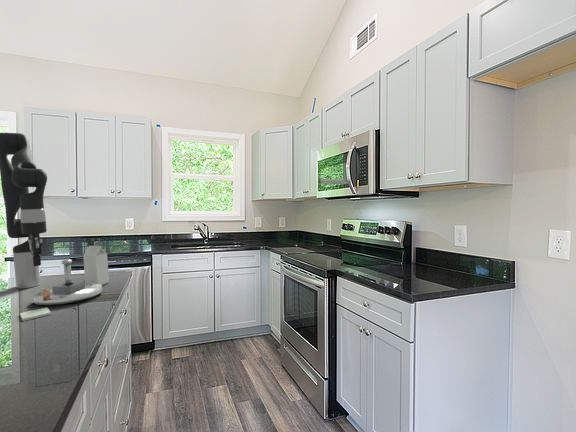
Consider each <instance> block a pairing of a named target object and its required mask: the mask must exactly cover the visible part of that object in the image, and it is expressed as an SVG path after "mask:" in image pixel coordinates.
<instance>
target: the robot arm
mask: <svg viewBox="0 0 576 432" xmlns="http://www.w3.org/2000/svg"><path fill="white" fill-rule="evenodd" d="M8 156H12V157H11V159H10V160H9V158H8ZM0 182H1V183H0V185H1V190H2V191H1V192H2V197H3V202H4V206H5V207H4V208H5V209H4V210H5V218H6V220H5V223H6V224H5V225H6V231H7V232H6V233H7V235H8V237H9V238H10V239H23V238H24V239H25V238H27V240H25V241H24V242H22V243H19V244H17V245H14V246H13V247H12V256H13V264H14V265H13V266H14V275H15V276H14V277H15V288H16V289H29V288H34V287H38V286H40V285H41V278H40V277H41V276H40V266H41V265H42V259H41V256H42V254H43V253H42V249H43V238H42V237H41V236H40V234H44V233H46V232H47V230H48V229H47V220H46V212H45V203H44V194H45V189H46V186H47V182H48V174H47V172H46V171H44V169H41V168H37V166H36V164H35V161H34V159H33V158H32V151H31V147H30V142H29V140H28V137H27V136H26V135H25V134H24V133H18V132H0ZM29 188H35V189H34V190H33V191H32V192H30V190H29ZM19 211H20V215H19V218H16V215H17V213H18V212H19Z"/></svg>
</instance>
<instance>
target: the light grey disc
mask: <svg viewBox="0 0 576 432" xmlns="http://www.w3.org/2000/svg"><path fill="white" fill-rule="evenodd" d="M102 292H103V285H100V284H95V283H85V281H72V285H65V282H63V283H59V284H57V285H53V286H52V287H51V288H44V289H42V291H40V292H38V293H36V294H35V295H33V299H32V300H33V303H34V304H35V305H39V306H53V305H55V306H57V305H65V304H69V303H75V302H79V301H84V300H87V299H91V298H93V297H95V296H98V295H99V294H101V293H102Z"/></svg>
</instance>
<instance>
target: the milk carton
mask: <svg viewBox="0 0 576 432" xmlns="http://www.w3.org/2000/svg"><path fill="white" fill-rule="evenodd" d="M83 254H84V253H83ZM82 258H83V271H84V282H85V283H95V284H100V285H102V286H103V285H106V284H108V283H110V278H109V264H108V253H107V252H106V251H105V250H104V249H103V248H102V245H91V246H90V245H88V248H87V250H86V251H85V254H84V255H83V256H82Z"/></svg>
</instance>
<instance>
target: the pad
mask: <svg viewBox="0 0 576 432" xmlns="http://www.w3.org/2000/svg"><path fill="white" fill-rule="evenodd" d="M51 312H52V311H50V309H49V308H48V307H42V308H38V309H34V310H29V311H23V312H21V313H19V315H20V319H21V320H22V322H23V321H29V320H33V319H37V318H41V317H47V316H49V315H50V314H51V315H52V313H51Z"/></svg>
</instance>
